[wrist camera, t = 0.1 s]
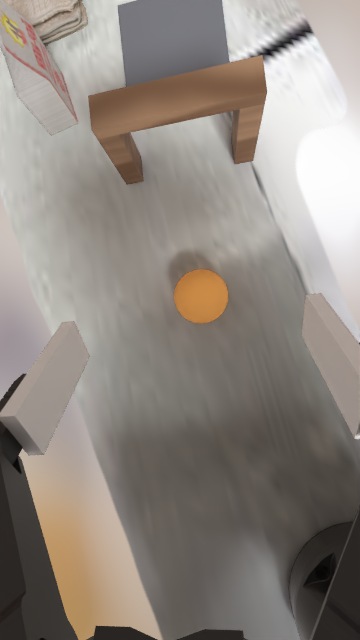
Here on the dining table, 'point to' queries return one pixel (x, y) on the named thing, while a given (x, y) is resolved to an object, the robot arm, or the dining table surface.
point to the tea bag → (34, 72)
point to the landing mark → (171, 38)
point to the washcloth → (52, 17)
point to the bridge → (181, 109)
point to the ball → (201, 296)
